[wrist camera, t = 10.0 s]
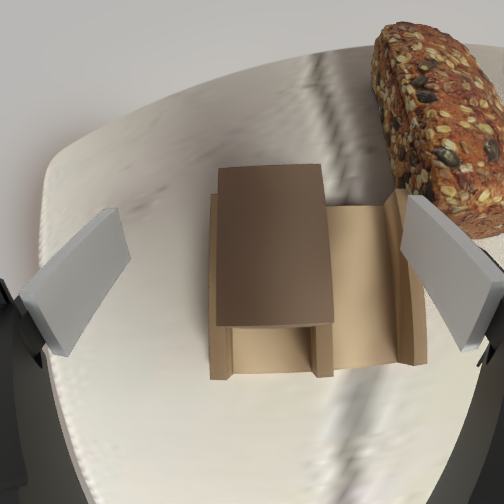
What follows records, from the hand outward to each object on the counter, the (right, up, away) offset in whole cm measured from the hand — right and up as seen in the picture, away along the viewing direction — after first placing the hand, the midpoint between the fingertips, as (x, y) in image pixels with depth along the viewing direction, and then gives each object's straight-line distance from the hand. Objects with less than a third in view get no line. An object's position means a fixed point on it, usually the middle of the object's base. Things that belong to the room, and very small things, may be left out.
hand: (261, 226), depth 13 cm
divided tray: (+4, -4, +9) cm, 11 cm away
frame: (+1, -3, +8) cm, 9 cm away
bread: (+17, +8, +12) cm, 22 cm away
